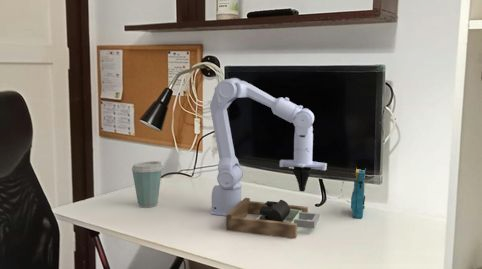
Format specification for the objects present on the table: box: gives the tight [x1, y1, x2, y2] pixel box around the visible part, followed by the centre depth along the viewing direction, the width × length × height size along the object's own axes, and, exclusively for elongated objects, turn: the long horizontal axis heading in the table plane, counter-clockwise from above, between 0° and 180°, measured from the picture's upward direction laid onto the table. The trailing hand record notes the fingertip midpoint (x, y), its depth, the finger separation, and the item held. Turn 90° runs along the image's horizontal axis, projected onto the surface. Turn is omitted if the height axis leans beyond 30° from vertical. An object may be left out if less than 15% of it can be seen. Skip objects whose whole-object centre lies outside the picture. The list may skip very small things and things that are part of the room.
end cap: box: [260, 199, 290, 222], centre depth 156 cm, size 10×7×7 cm
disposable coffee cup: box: [131, 160, 164, 208], centre depth 175 cm, size 11×11×15 cm
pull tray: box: [256, 209, 320, 229], centre depth 154 cm, size 17×14×4 cm
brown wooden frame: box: [225, 197, 309, 239], centre depth 156 cm, size 21×18×5 cm
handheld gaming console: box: [350, 168, 366, 220], centre depth 165 cm, size 10×4×15 cm, turn 164°
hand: (302, 190), depth 160 cm, fingers closed
